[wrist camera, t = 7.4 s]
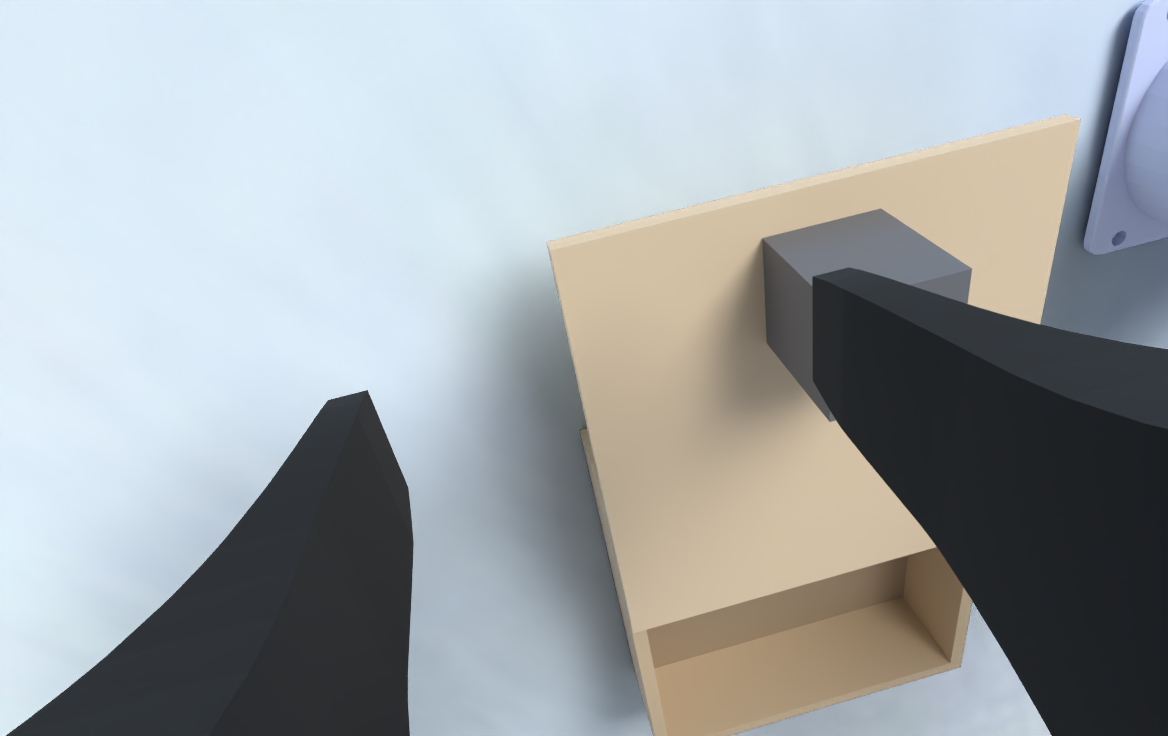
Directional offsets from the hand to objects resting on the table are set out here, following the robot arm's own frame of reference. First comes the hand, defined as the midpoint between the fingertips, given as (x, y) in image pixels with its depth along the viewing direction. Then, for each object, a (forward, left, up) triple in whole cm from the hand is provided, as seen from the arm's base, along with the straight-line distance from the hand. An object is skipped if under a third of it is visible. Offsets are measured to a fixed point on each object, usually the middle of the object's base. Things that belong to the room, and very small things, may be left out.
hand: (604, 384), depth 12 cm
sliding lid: (-7, +7, -6) cm, 12 cm away
